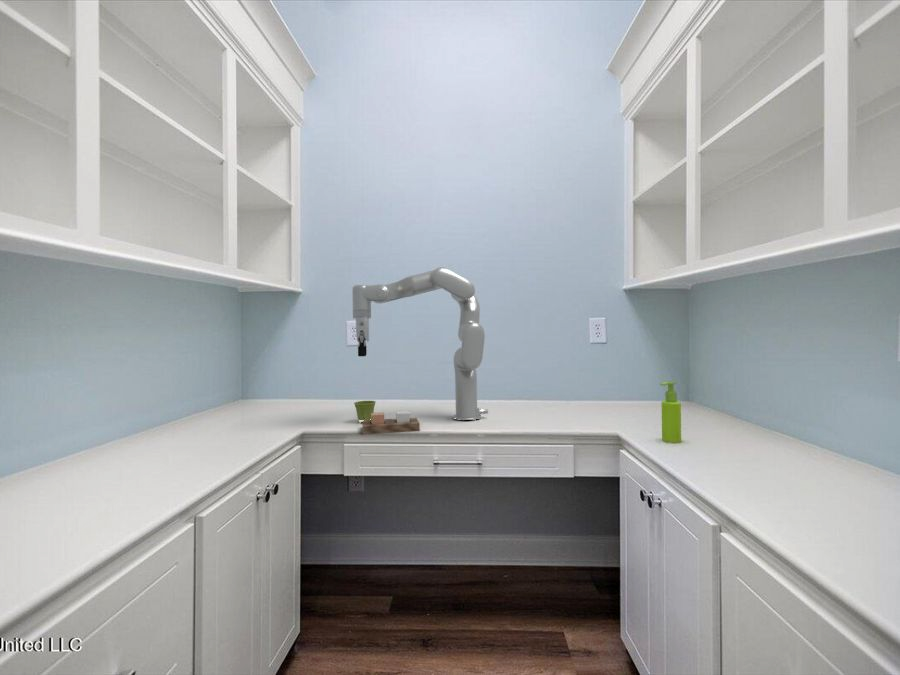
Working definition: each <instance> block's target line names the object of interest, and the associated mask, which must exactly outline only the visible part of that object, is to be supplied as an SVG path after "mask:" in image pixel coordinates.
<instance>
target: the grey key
mask: <svg viewBox="0 0 900 675" xmlns="http://www.w3.org/2000/svg"><path fill="white" fill-rule="evenodd" d="M395 412H396V413H395V415H396V418H395V419H396V422H397V423H406V422H410V418H411V416H410V414H411V413H410V411H408V410H403V411H402V410H401V411H395Z"/></svg>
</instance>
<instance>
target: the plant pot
mask: <svg viewBox="0 0 900 675" xmlns="http://www.w3.org/2000/svg"><path fill="white" fill-rule="evenodd" d="M376 403H377V401H376V400H359V401H355V402H353V404H354V407H355V410H356V416H357V420H358V419H359V420H370V419H371V413H375V406H376Z"/></svg>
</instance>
